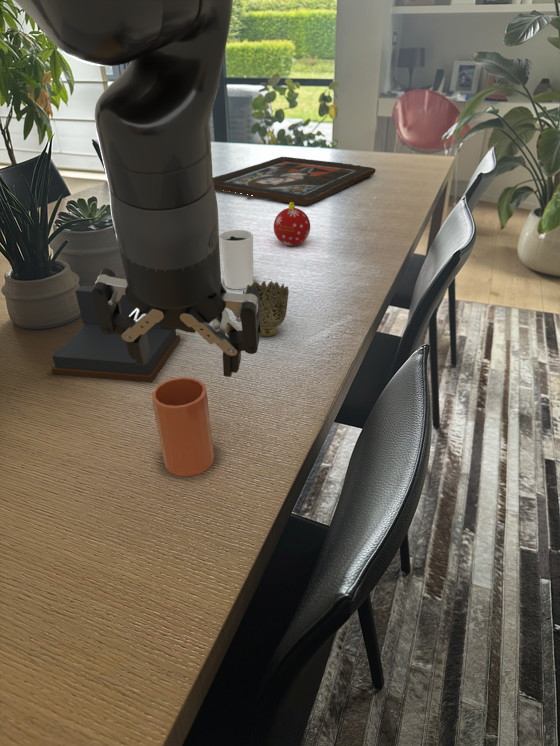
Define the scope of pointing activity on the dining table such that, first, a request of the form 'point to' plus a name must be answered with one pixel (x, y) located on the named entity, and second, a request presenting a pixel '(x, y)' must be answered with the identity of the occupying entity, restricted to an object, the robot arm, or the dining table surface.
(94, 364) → the sofa
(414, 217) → the dining table surface
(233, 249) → the white cylindrical container
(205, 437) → the cup
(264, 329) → the cup
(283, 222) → the christmas ornament
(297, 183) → the religious icon
